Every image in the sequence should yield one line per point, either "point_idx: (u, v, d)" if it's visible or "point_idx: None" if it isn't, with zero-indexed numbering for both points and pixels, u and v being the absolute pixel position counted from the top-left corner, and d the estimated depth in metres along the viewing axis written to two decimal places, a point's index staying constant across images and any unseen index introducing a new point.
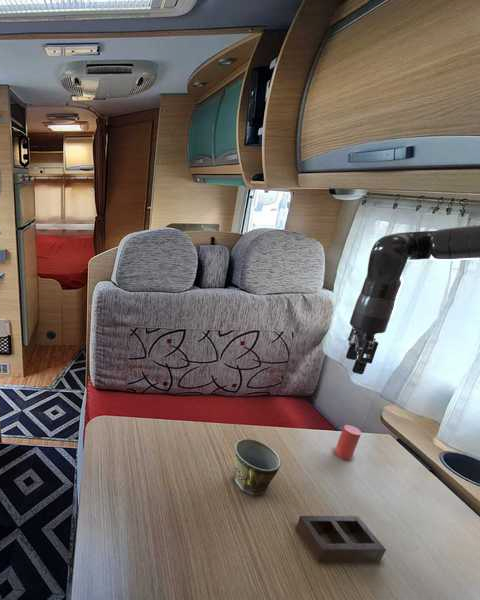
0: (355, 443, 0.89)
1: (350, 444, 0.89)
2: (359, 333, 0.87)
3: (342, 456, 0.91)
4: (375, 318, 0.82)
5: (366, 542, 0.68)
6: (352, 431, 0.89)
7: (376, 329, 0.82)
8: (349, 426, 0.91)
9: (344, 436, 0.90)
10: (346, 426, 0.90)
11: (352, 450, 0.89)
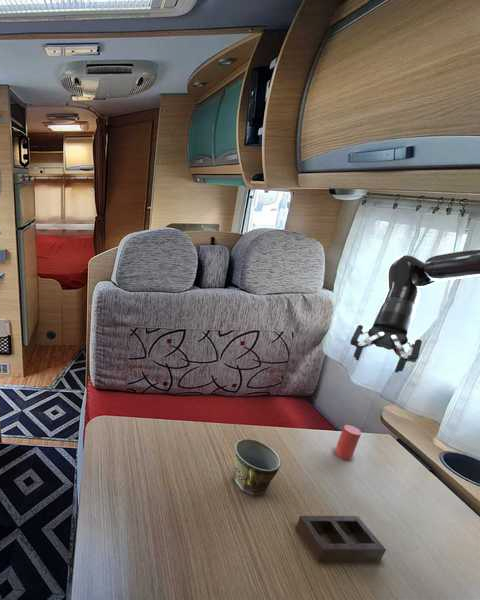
0: (355, 443, 0.89)
1: (350, 444, 0.89)
2: None
3: (342, 456, 0.91)
4: (377, 315, 0.97)
5: (366, 542, 0.68)
6: (352, 431, 0.89)
7: (375, 321, 0.96)
8: (349, 426, 0.91)
9: (344, 436, 0.90)
10: (346, 426, 0.90)
11: (352, 450, 0.89)
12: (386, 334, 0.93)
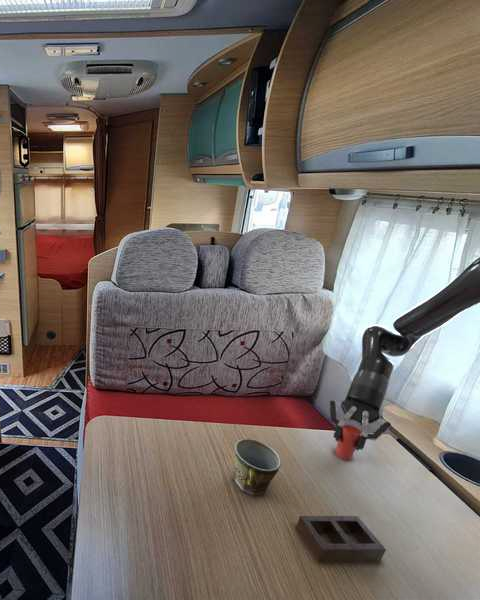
0: (355, 443, 0.89)
1: (350, 444, 0.89)
2: None
3: (342, 456, 0.91)
4: (350, 386, 0.96)
5: (366, 542, 0.68)
6: (352, 431, 0.89)
7: (347, 393, 0.94)
8: (349, 426, 0.90)
9: (344, 436, 0.90)
10: (346, 426, 0.90)
11: (352, 450, 0.89)
12: (358, 408, 0.91)
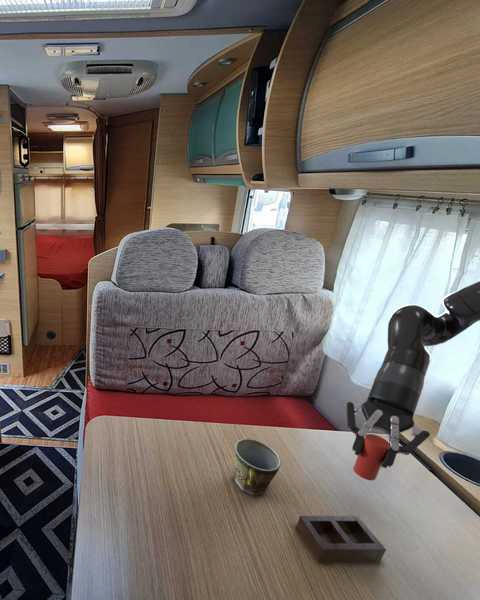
0: (381, 458, 0.67)
1: (375, 460, 0.68)
2: None
3: (364, 475, 0.70)
4: (373, 383, 0.74)
5: (366, 542, 0.68)
6: (377, 442, 0.68)
7: (370, 393, 0.73)
8: (373, 436, 0.69)
9: (367, 449, 0.68)
10: (368, 436, 0.69)
11: (377, 467, 0.68)
12: (385, 413, 0.70)
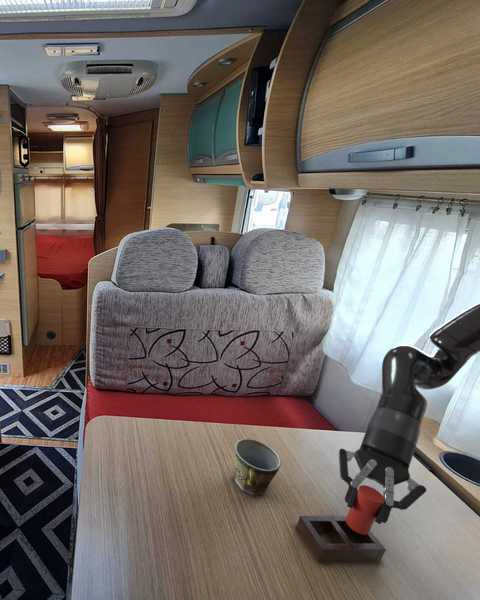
0: (375, 513, 0.64)
1: (368, 515, 0.64)
2: None
3: (357, 528, 0.66)
4: (367, 428, 0.71)
5: (366, 542, 0.68)
6: (371, 496, 0.64)
7: (364, 439, 0.69)
8: (366, 487, 0.66)
9: (360, 502, 0.65)
10: (362, 488, 0.65)
11: (371, 522, 0.64)
12: (379, 463, 0.66)
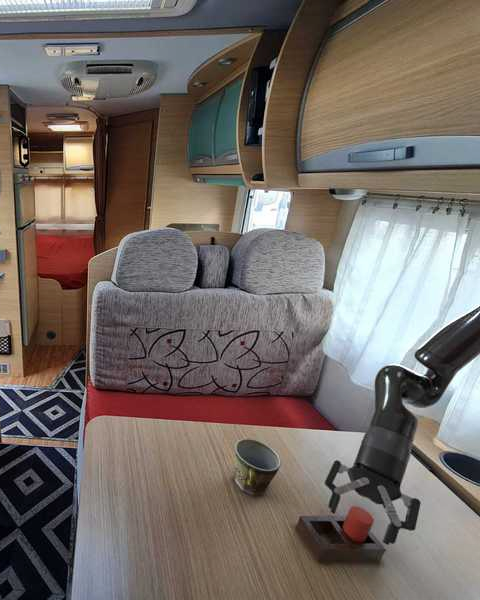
0: (366, 534, 0.66)
1: (359, 535, 0.66)
2: None
3: None
4: (360, 446, 0.72)
5: (366, 542, 0.68)
6: (361, 517, 0.66)
7: (357, 457, 0.71)
8: (357, 508, 0.68)
9: (351, 523, 0.67)
10: (353, 509, 0.67)
11: (361, 542, 0.66)
12: (372, 481, 0.68)
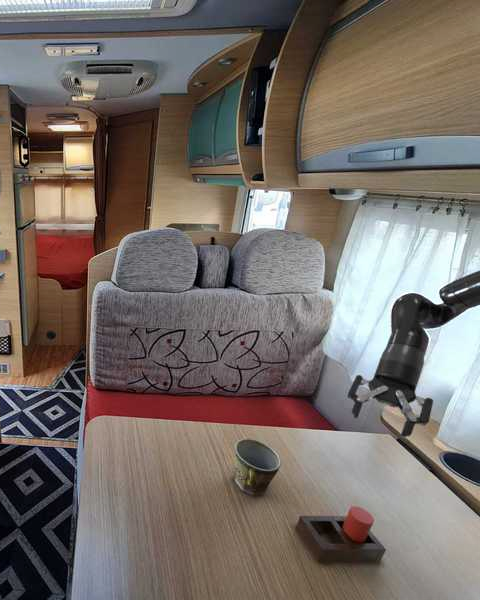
0: (366, 534, 0.66)
1: (359, 535, 0.66)
2: None
3: None
4: None
5: (366, 542, 0.68)
6: (361, 517, 0.66)
7: (376, 371, 0.81)
8: (357, 508, 0.68)
9: (351, 523, 0.67)
10: (353, 509, 0.67)
11: (361, 542, 0.66)
12: (390, 388, 0.78)
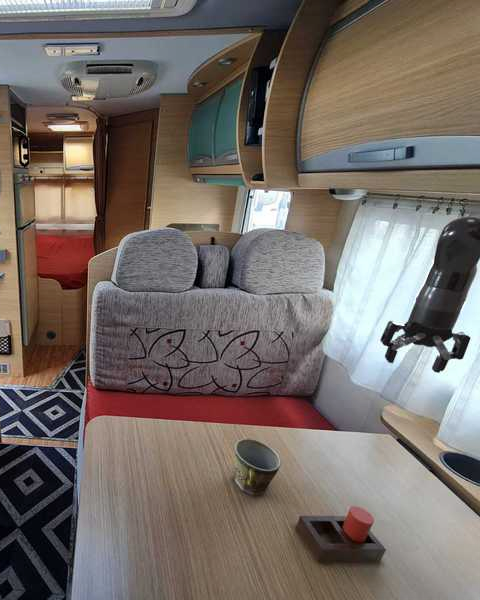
0: (366, 534, 0.66)
1: (359, 535, 0.66)
2: None
3: None
4: (415, 304, 0.77)
5: (366, 542, 0.68)
6: (361, 517, 0.66)
7: (412, 316, 0.77)
8: (357, 508, 0.68)
9: (351, 523, 0.67)
10: (353, 509, 0.67)
11: (361, 542, 0.66)
12: (427, 332, 0.76)
